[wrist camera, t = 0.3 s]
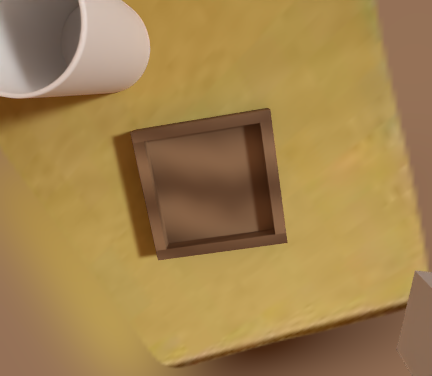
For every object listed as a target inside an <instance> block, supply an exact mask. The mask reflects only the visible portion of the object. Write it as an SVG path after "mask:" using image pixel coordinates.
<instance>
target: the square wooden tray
mask: <svg viewBox="0 0 432 376" xmlns="http://www.w3.org/2000/svg"><path fill="white" fill-rule="evenodd" d="M130 133H131V138H132V142H133V147H134V152H135V156H136V161H137V165H138V170H139V175H140V179H141V184H142V188H143V193H144V198H145V202H146V207H147V211H148V216H149V221H150V225H151V230H152V235H153V239H154V244H155V248H156V253H157V258H158V260H164V259H171V258H179V257H186V256H193V255H201V254H208V253H216V252H223V251H230V250H238V249H245V248H253V247H260V246H267V245H275V244H282V243H287V236H286V228H285V221H284V213H283V205H282V197H281V190H280V182H279V174H278V166H277V159H276V151H275V143H274V135H273V128H272V120H271V112H270V109H269V108H264V109H258V110H252V111H246V112H240V113H234V114H228V115H222V116H216V117H210V118H203V119H197V120H191V121H185V122H179V123H173V124H167V125H161V126H155V127H149V128H142V129H136V130H134V131H132V132H130Z"/></svg>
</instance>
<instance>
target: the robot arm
mask: <svg viewBox="0 0 432 376" xmlns="http://www.w3.org/2000/svg"><path fill="white" fill-rule="evenodd" d="M397 351H398V353H399V355H400V356H401V358H402V359H403V361H404V363H405V365H406V366H407V368H408V370H409V371H410V373H411V374H412V376H432V272H423V271H415V274H414V278H413V282H412V286H411V291H410V295H409V299H408V303H407V308H406V312H405V316H404V320H403V325H402V329H401V333H400V337H399V341H398V346H397Z"/></svg>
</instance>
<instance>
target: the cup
mask: <svg viewBox="0 0 432 376" xmlns="http://www.w3.org/2000/svg"><path fill="white" fill-rule="evenodd" d="M149 55H150V41H149V36H148V32H147V30H146V27H145V25H144V23H143V21H142V20H141V18H140V17H139V15H138V14H137V13H136V12H135V11H134V10H133V9H132V8H131V7H129V6H128V5H127V4H126V3H124V2H123V1H122V0H0V96H2V97H8V98H19V99H20V98H40V97H57V96H73V95H89V94H105V93H116V92H120V91H123V90H125V89H127V88H129V87H130V86H132V85H133V84H134V83H136V82H137V81H138V79H139V78H140V77H141V76H142V74H143V73H144V71H145V69H146V66H147V64H148V60H149Z"/></svg>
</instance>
